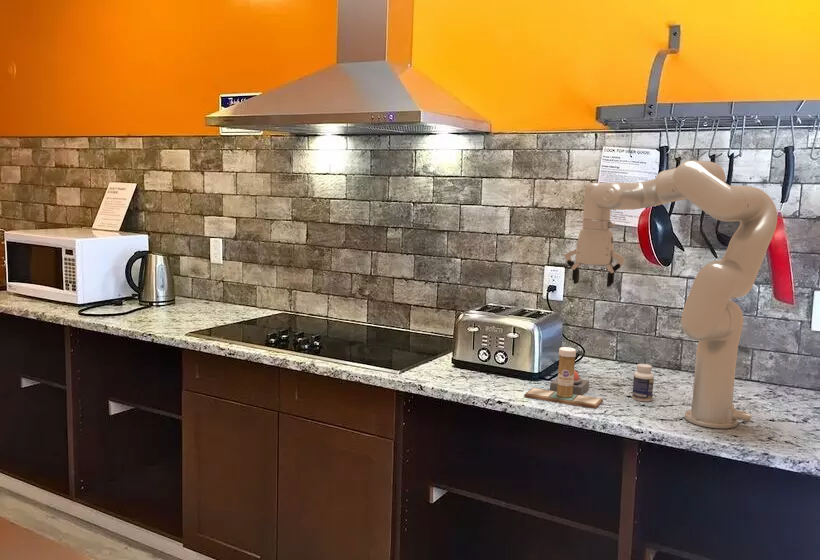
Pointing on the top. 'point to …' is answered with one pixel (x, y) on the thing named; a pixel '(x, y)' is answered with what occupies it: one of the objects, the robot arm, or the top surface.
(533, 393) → the board
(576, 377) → the dome button
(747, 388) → the top surface
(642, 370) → the pill bottle
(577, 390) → the button housing
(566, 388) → the sprinkles bottle
